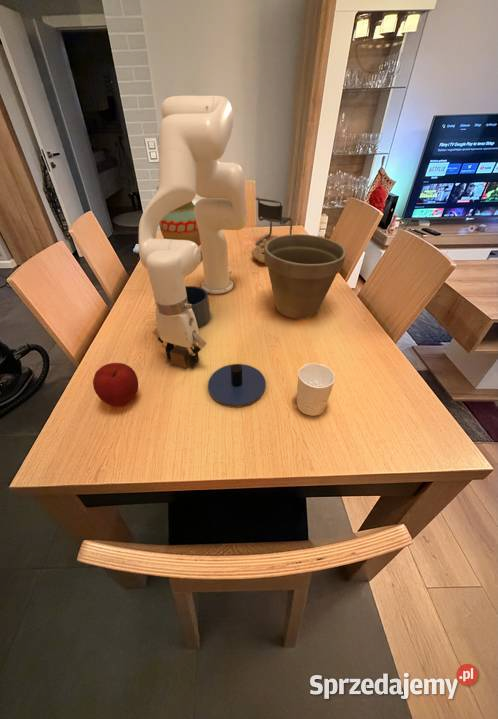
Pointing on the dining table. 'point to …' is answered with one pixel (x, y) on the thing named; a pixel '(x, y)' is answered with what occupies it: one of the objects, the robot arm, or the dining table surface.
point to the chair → (272, 214)
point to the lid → (237, 385)
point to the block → (180, 356)
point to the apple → (116, 384)
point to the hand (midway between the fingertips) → (183, 359)
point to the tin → (199, 304)
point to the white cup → (314, 388)
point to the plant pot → (302, 272)
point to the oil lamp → (260, 252)
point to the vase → (181, 224)
